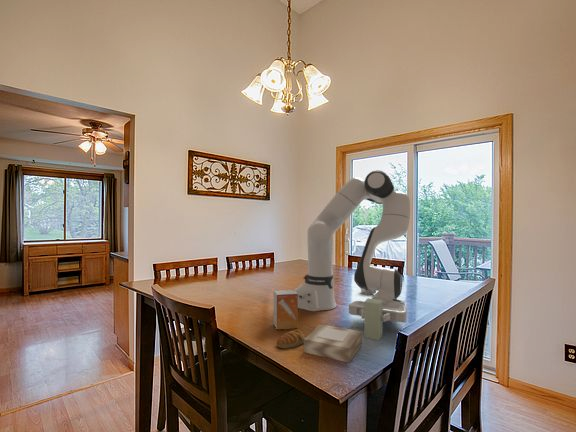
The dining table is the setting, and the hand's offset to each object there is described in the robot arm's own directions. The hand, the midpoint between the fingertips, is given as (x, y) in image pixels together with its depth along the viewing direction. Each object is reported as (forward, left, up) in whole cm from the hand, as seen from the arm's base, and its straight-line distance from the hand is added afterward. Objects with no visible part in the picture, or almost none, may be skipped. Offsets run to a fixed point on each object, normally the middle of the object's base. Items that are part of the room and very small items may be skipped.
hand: (372, 317), depth 102 cm
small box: (-31, -5, -7) cm, 32 cm away
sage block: (0, +1, -7) cm, 7 cm away
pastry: (-22, -17, -7) cm, 29 cm away
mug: (-14, +57, -7) cm, 59 cm away
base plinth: (-9, -14, -7) cm, 18 cm away
